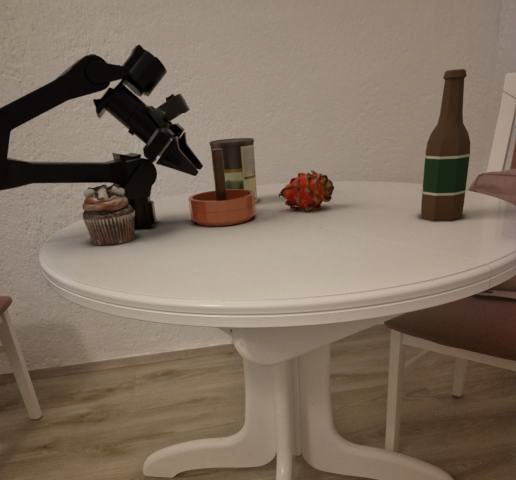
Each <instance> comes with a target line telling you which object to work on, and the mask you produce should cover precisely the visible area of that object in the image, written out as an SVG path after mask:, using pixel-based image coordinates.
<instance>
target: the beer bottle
mask: <svg viewBox="0 0 516 480" xmlns="http://www.w3.org/2000/svg"><path fill="white" fill-rule="evenodd" d="M467 76H468V75H467V70H466V69H465V68H459V69H448V70H446V71H444V74H443V77H442V79H443V80H444V84H443V90H442V96H441V97H442V98H441V105H440V110H439V117H438V120H437V123H436V126H435V127H434V128H433V130H432V132H431V133H430V135H429V137H428V140H427V142H426V147H425V152H424V153H425V154H424V166H423V176H422V177H423V178H422V191H421V203H420V204H421V205H420V207H421V208H420V214H421V215H420V216H421V218H422V219H423V220H427V221H433V222H440V221H448V222H449V221H450V222H451V221H453V220H458V219H462V216H463V211H464V206H465V198H466V189H467V182H468V174H469V165H470V157H471V139H470V135H469V131H468V129H467V128H466V125H465V124H464V117H463V116H464V115H463V113H464V93H465V92H464V91H465V78H467Z"/></svg>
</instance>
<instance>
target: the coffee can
mask: <svg viewBox="0 0 516 480" xmlns="http://www.w3.org/2000/svg"><path fill="white" fill-rule="evenodd" d="M254 142H255V139H254V138H252V137H235V138H223V139H215V140H211V141H209V146H210V151H211V150H212V149H222V151H223V162H224V172H225V183H226V189H245V190H251V191H254V193H255V204H256V203H257V202H258V192H257V177H256V176H257V175H256V161H255V143H254ZM210 153H211V152H210ZM210 155H211V157H212V153H211V154H210ZM211 164H212V166H213V163H212V162H211ZM212 173H213V176H214V172H213V171H212ZM213 182H214V185H215V181H214V180H213Z"/></svg>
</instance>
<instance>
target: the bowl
mask: <svg viewBox="0 0 516 480" xmlns="http://www.w3.org/2000/svg"><path fill="white" fill-rule="evenodd" d="M226 193H227V200H218V201H217V200H216V191H215V189H214V190H208V191H207V190H206V191H203V192H198V193H194V194H192V195H189V197H188V199H187V200H188V207H189V216H190V220H191V221H192V222H195V223H196V224H197V225H200V226H203V227H225V226H232V225H233V226H234V225H240V224H242V223H243V224H244V223H245V222H248V221H250V220H251V219H252V218H253V217H254V216H256V215H257V208H256V205H257V204H256V203H255V193H254V191H251V190H245V189H226Z"/></svg>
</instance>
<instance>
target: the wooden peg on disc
mask: <svg viewBox="0 0 516 480" xmlns="http://www.w3.org/2000/svg"><path fill="white" fill-rule="evenodd" d="M210 153H212V156H211V164H212V163H213V165H212V173H213V172H214V175H213V182H214V181H215V184H214V190H215V191H216V200H217V201H218V200H227V193H226V183H225V172H224V162H223V151H222V149H212V150H211V149H210Z"/></svg>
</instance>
